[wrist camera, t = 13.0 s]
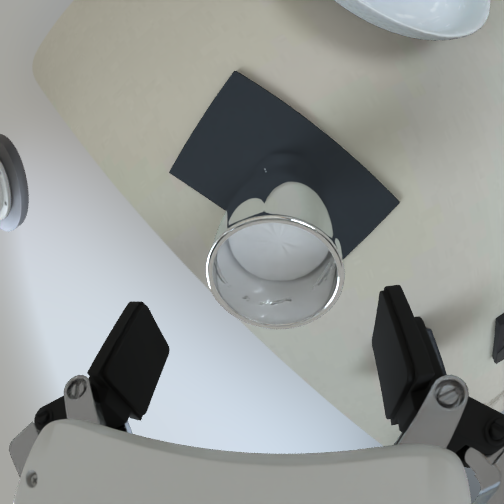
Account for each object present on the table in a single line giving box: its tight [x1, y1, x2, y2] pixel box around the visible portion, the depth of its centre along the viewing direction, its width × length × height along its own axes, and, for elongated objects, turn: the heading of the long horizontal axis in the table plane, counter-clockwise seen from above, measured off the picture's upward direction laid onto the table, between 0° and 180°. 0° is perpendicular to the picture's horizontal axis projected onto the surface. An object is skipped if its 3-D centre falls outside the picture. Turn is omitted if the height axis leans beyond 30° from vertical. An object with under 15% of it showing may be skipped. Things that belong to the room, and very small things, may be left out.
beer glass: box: [206, 152, 345, 329], centre depth 19 cm, size 7×7×15 cm
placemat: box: [169, 71, 400, 260], centre depth 26 cm, size 20×12×1 cm, turn 55°
